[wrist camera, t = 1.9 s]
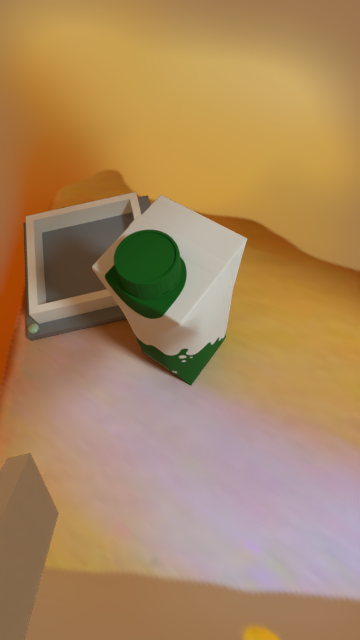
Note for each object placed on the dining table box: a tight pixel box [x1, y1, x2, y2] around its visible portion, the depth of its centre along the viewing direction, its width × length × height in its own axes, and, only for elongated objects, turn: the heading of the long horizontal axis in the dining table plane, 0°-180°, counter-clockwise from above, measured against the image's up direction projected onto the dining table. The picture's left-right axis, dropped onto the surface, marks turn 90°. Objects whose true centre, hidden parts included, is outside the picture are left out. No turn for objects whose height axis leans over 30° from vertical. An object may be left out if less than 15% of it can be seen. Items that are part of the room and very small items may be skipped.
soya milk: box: [92, 195, 247, 385], centre depth 29 cm, size 9×9×20 cm
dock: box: [24, 192, 150, 341], centre depth 42 cm, size 18×18×4 cm
